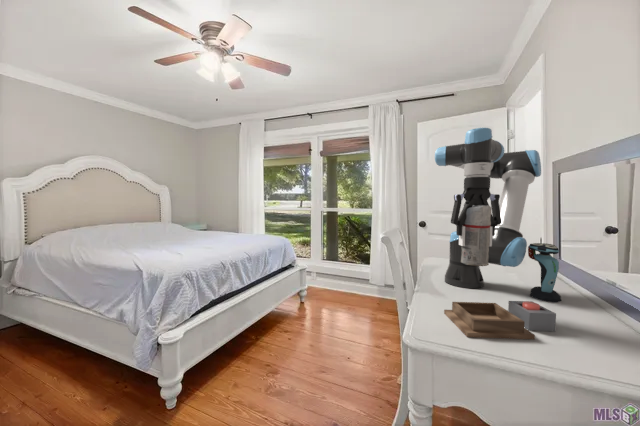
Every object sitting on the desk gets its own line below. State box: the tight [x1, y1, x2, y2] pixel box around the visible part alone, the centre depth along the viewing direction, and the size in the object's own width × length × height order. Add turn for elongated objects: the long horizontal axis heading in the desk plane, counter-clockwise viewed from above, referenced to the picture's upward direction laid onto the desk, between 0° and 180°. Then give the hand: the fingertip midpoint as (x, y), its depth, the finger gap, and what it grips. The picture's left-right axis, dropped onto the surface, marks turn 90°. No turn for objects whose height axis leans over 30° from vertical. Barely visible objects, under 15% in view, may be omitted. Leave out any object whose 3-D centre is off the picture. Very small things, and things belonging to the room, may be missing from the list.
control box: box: [507, 300, 557, 332], centre depth 79 cm, size 9×7×5 cm
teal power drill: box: [527, 242, 562, 303], centre depth 101 cm, size 9×12×20 cm
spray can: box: [461, 205, 492, 267], centre depth 89 cm, size 8×8×20 cm
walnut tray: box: [443, 301, 536, 340], centre depth 78 cm, size 15×17×4 cm
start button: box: [522, 300, 541, 310], centre depth 79 cm, size 4×4×2 cm
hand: (474, 245), depth 90 cm, fingers closed on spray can, 8 cm apart
